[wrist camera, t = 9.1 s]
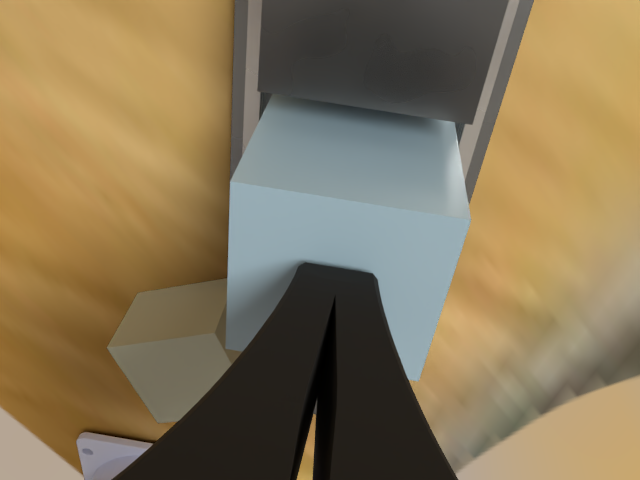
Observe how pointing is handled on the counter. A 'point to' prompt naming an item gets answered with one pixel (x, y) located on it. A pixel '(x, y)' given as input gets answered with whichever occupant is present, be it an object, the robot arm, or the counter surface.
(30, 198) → the counter surface
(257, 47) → the rail base
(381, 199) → the block
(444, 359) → the counter surface
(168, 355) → the block
